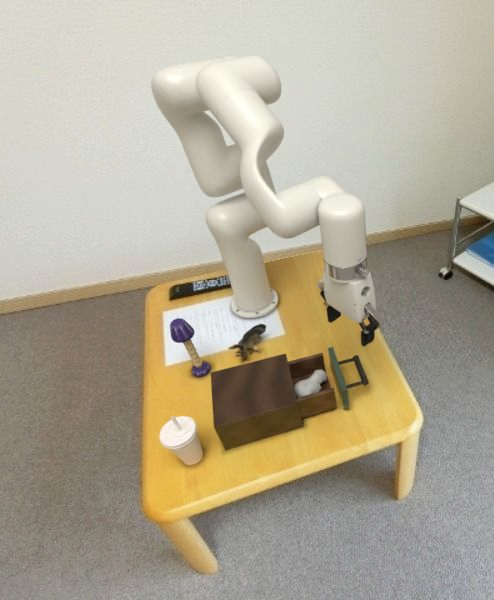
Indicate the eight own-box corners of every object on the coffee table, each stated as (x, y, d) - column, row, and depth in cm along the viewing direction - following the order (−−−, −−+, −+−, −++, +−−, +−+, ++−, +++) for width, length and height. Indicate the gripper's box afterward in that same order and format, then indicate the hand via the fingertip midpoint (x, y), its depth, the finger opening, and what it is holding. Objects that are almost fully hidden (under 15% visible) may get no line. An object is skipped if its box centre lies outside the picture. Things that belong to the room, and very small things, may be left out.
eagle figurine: (264, 361, 102) (274, 329, 108) (241, 346, 98) (253, 314, 103) (243, 367, 106) (254, 336, 111) (220, 353, 101) (232, 322, 107)
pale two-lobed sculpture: (303, 409, 93) (289, 391, 94) (332, 388, 97) (319, 371, 98) (304, 402, 89) (289, 384, 91) (334, 380, 94) (320, 363, 95)
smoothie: (205, 471, 83) (182, 433, 74) (171, 472, 83) (144, 434, 73) (213, 441, 88) (193, 401, 78) (181, 442, 88) (157, 403, 78)
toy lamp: (209, 377, 100) (187, 328, 88) (188, 380, 99) (163, 331, 88) (212, 362, 103) (190, 312, 92) (191, 365, 102) (167, 315, 91)
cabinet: (291, 377, 100) (285, 353, 94) (303, 427, 91) (297, 403, 85) (221, 396, 96) (210, 372, 90) (225, 450, 86) (213, 427, 80)
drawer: (356, 359, 104) (355, 340, 99) (372, 401, 95) (371, 382, 90) (273, 382, 98) (267, 363, 93) (282, 428, 89) (276, 409, 85)
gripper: (396, 274, 73) (394, 341, 85) (328, 235, 82) (335, 301, 93) (365, 295, 69) (368, 363, 81) (297, 252, 77) (309, 319, 89)
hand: (351, 330), depth 87 cm, fingers open, 9 cm apart
